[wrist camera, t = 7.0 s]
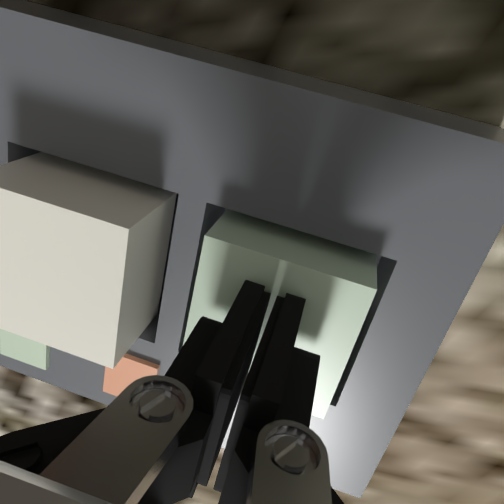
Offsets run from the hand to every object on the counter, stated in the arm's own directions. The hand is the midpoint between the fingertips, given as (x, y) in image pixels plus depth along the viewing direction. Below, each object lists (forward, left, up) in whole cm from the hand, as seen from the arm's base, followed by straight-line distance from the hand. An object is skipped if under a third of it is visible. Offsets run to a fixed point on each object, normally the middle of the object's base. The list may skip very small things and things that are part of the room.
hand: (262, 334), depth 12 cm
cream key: (+6, 0, -2) cm, 6 cm away
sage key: (0, 0, -3) cm, 3 cm away
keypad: (+6, 0, -5) cm, 7 cm away
